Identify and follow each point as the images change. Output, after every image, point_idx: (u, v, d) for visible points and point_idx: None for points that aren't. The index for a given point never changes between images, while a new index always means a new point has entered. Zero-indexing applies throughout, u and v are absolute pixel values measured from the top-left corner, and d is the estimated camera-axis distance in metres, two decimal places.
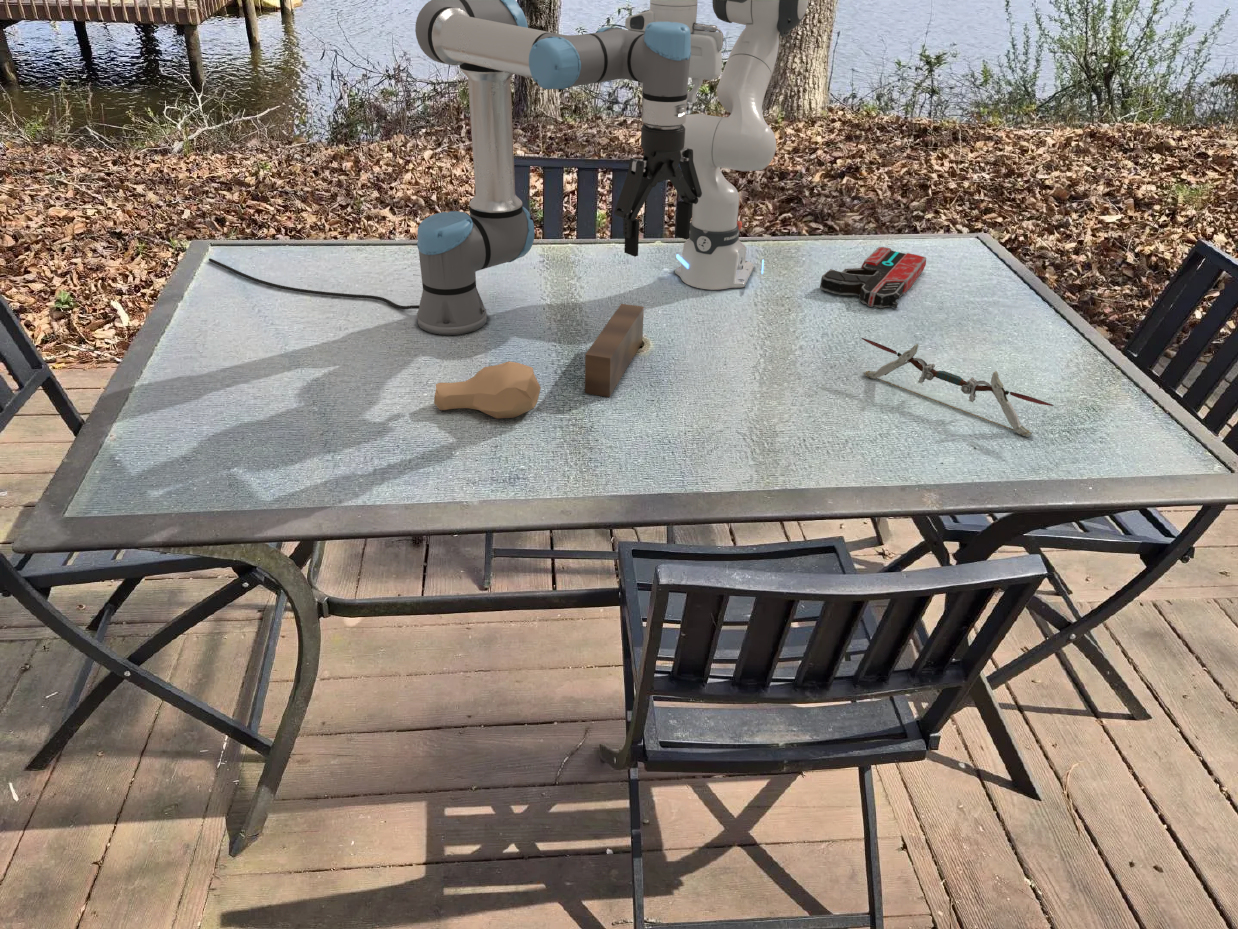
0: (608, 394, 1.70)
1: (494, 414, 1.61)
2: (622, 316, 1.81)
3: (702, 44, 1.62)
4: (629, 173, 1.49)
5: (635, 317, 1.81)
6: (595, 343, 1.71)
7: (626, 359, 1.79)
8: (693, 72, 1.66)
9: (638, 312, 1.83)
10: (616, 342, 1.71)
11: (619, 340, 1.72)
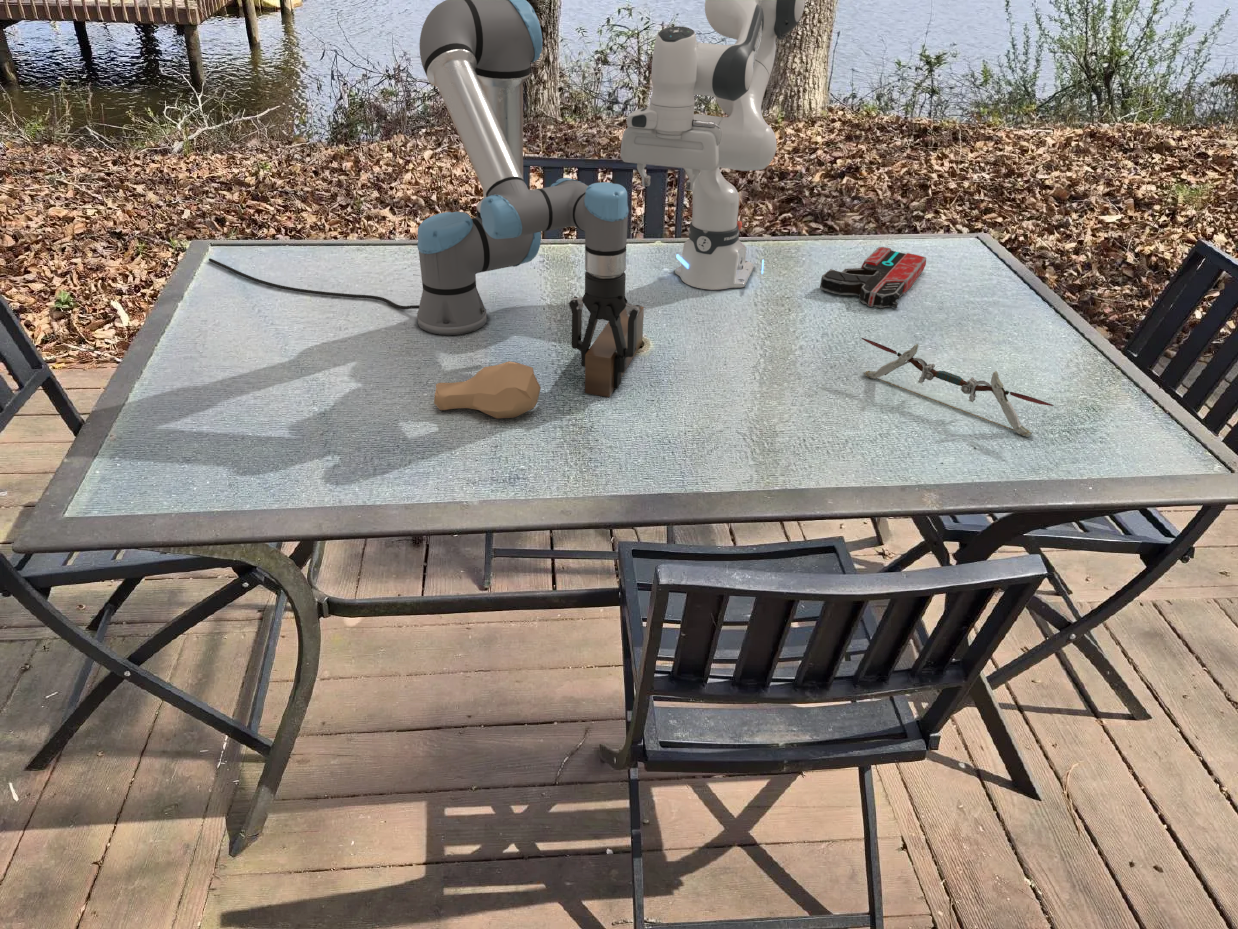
0: (608, 394, 1.70)
1: (494, 414, 1.61)
2: (622, 316, 1.81)
3: (703, 140, 1.75)
4: (634, 321, 1.64)
5: None
6: (595, 343, 1.71)
7: None
8: (694, 164, 1.77)
9: None
10: None
11: None
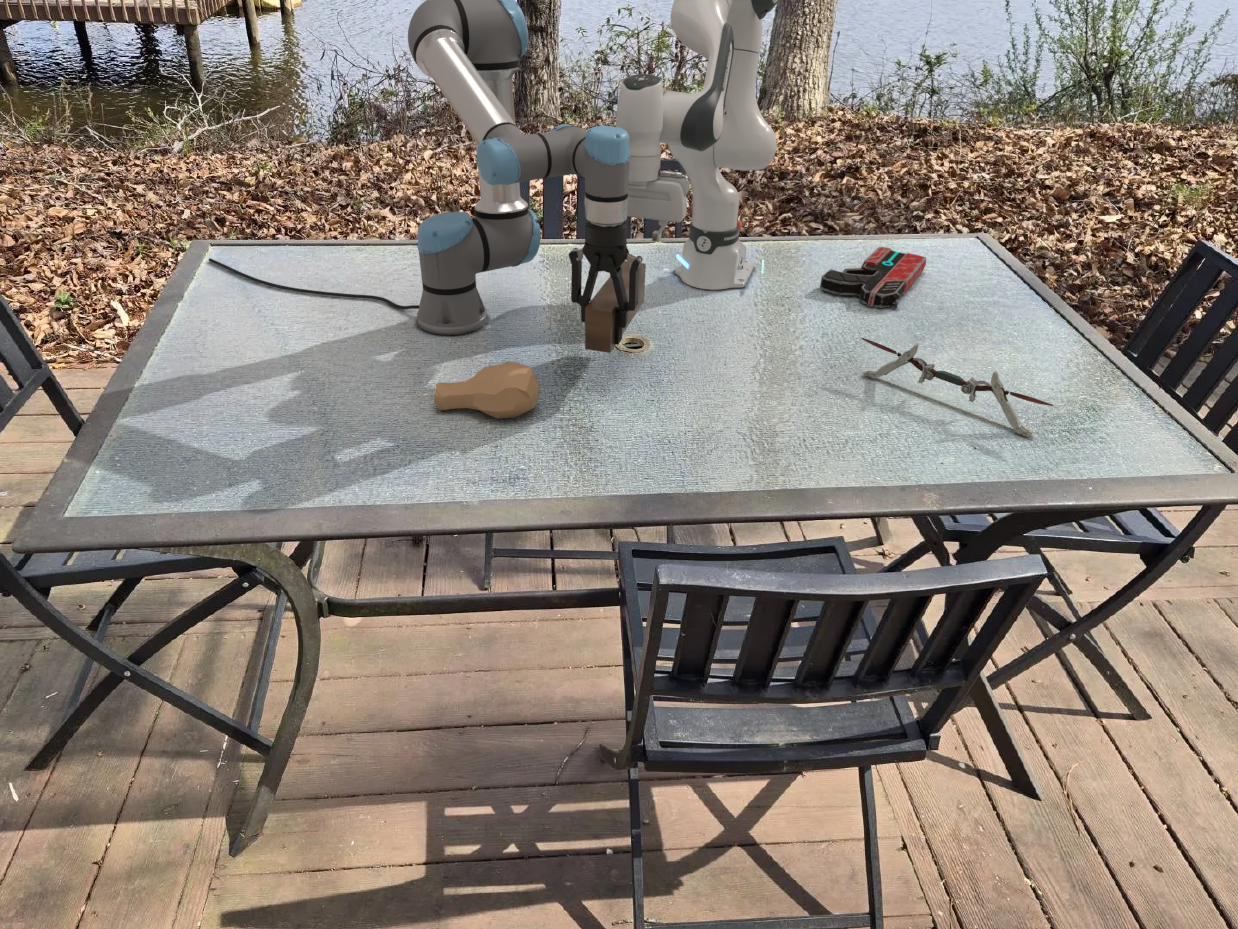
0: (609, 350, 1.65)
1: (494, 414, 1.61)
2: (623, 272, 1.76)
3: (670, 191, 1.67)
4: (636, 273, 1.58)
5: None
6: (595, 297, 1.65)
7: None
8: (661, 215, 1.70)
9: (640, 268, 1.78)
10: None
11: None
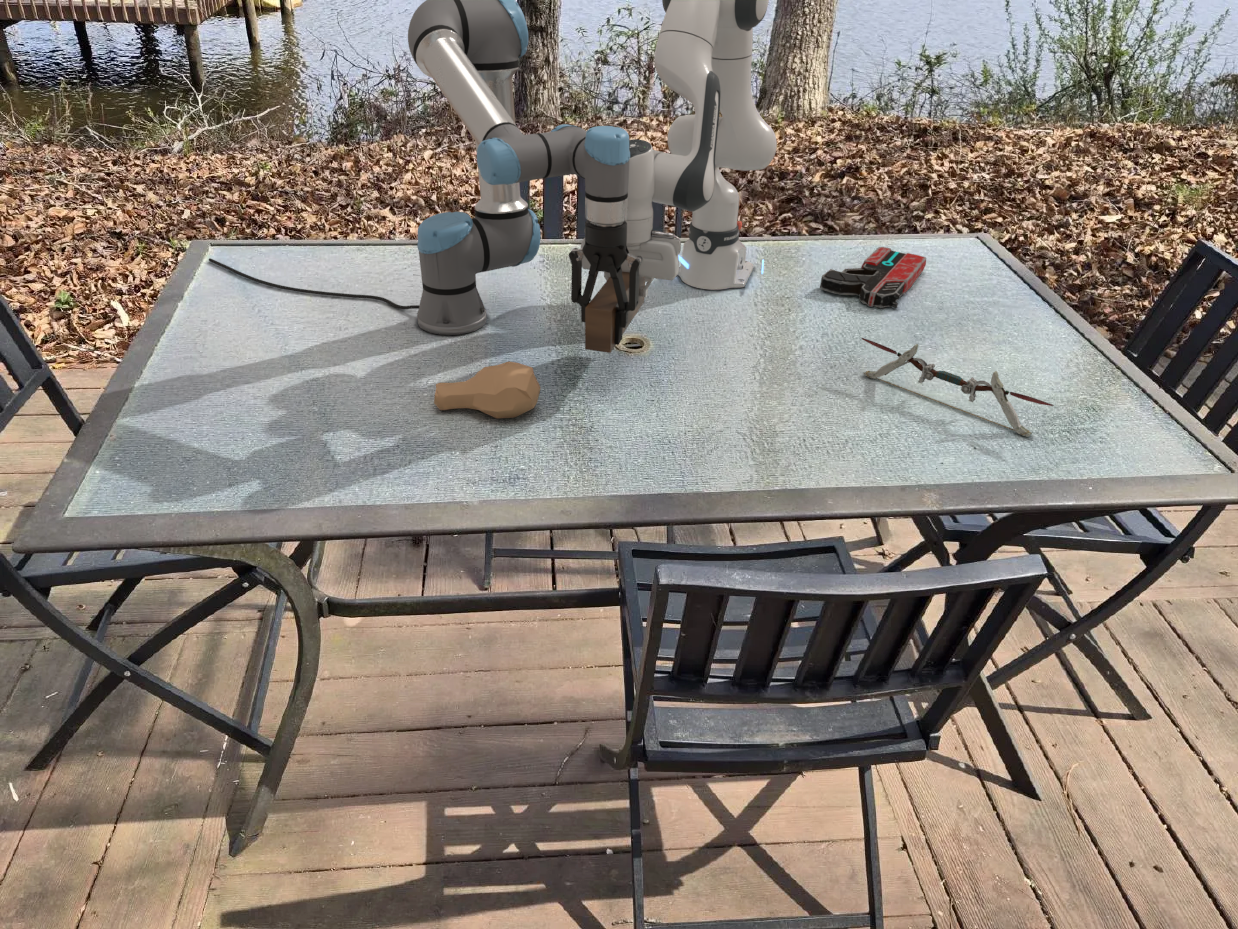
0: (609, 350, 1.65)
1: (494, 414, 1.61)
2: (623, 272, 1.76)
3: (662, 251, 1.72)
4: (636, 273, 1.58)
5: None
6: (596, 297, 1.65)
7: None
8: (654, 274, 1.75)
9: None
10: None
11: None
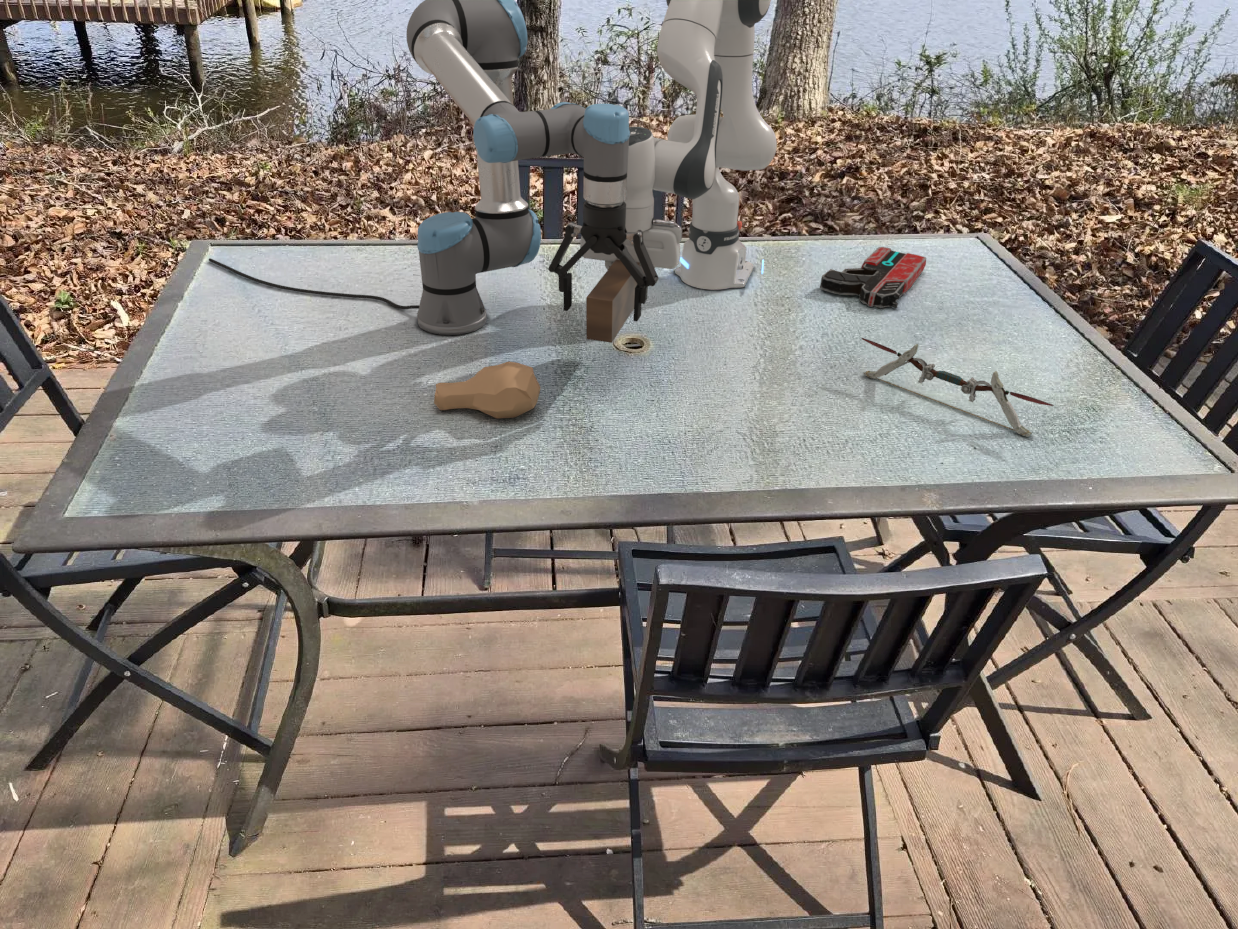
0: (610, 339, 1.64)
1: (494, 414, 1.61)
2: None
3: (663, 239, 1.71)
4: (641, 246, 1.54)
5: (638, 262, 1.75)
6: (596, 287, 1.64)
7: (629, 305, 1.72)
8: (655, 262, 1.74)
9: None
10: (619, 285, 1.65)
11: (621, 284, 1.65)
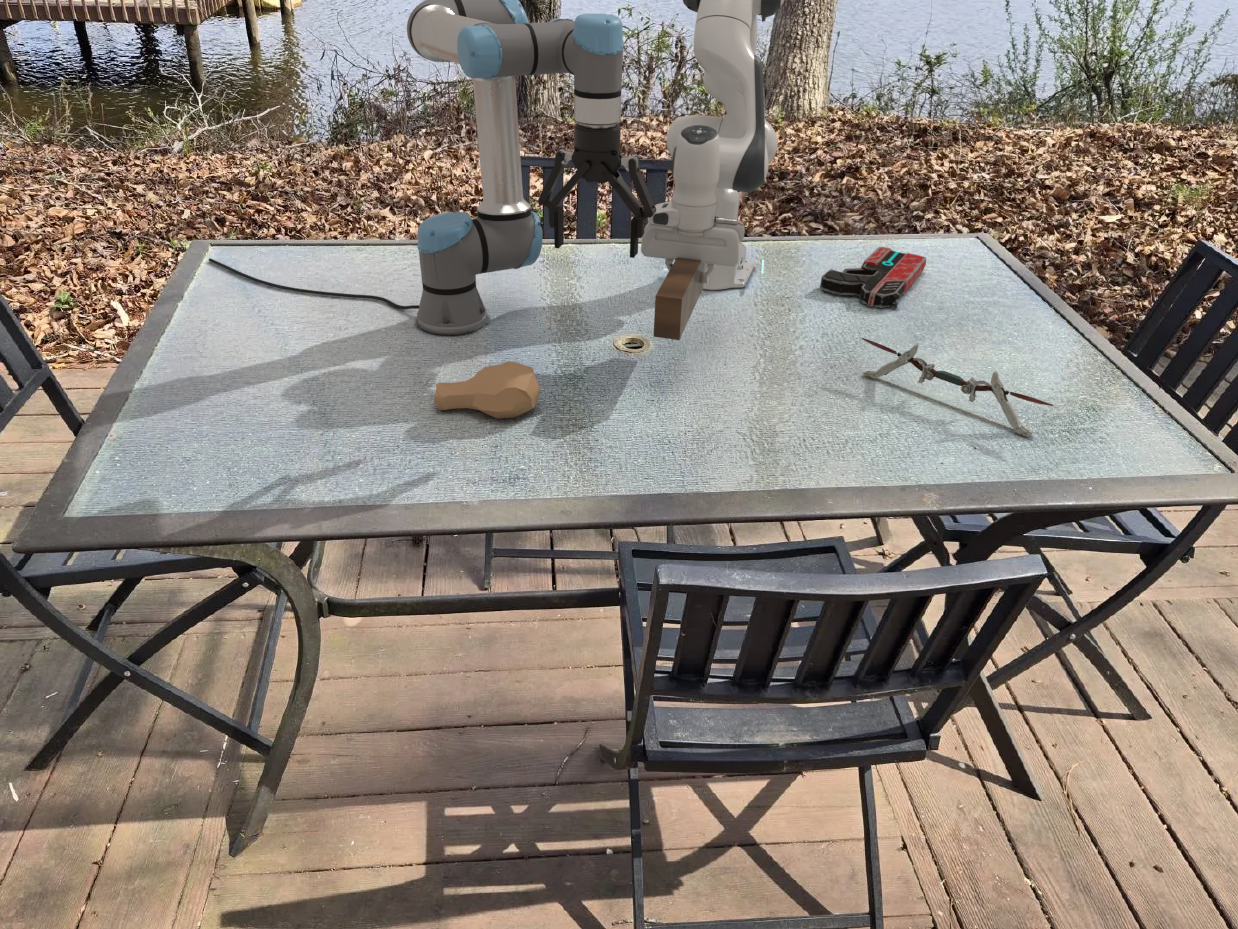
0: (678, 337, 1.65)
1: (494, 414, 1.61)
2: (685, 259, 1.76)
3: (726, 237, 1.72)
4: (637, 173, 1.43)
5: (699, 260, 1.76)
6: (663, 285, 1.65)
7: (692, 303, 1.73)
8: (716, 260, 1.75)
9: None
10: (685, 283, 1.66)
11: (687, 282, 1.66)
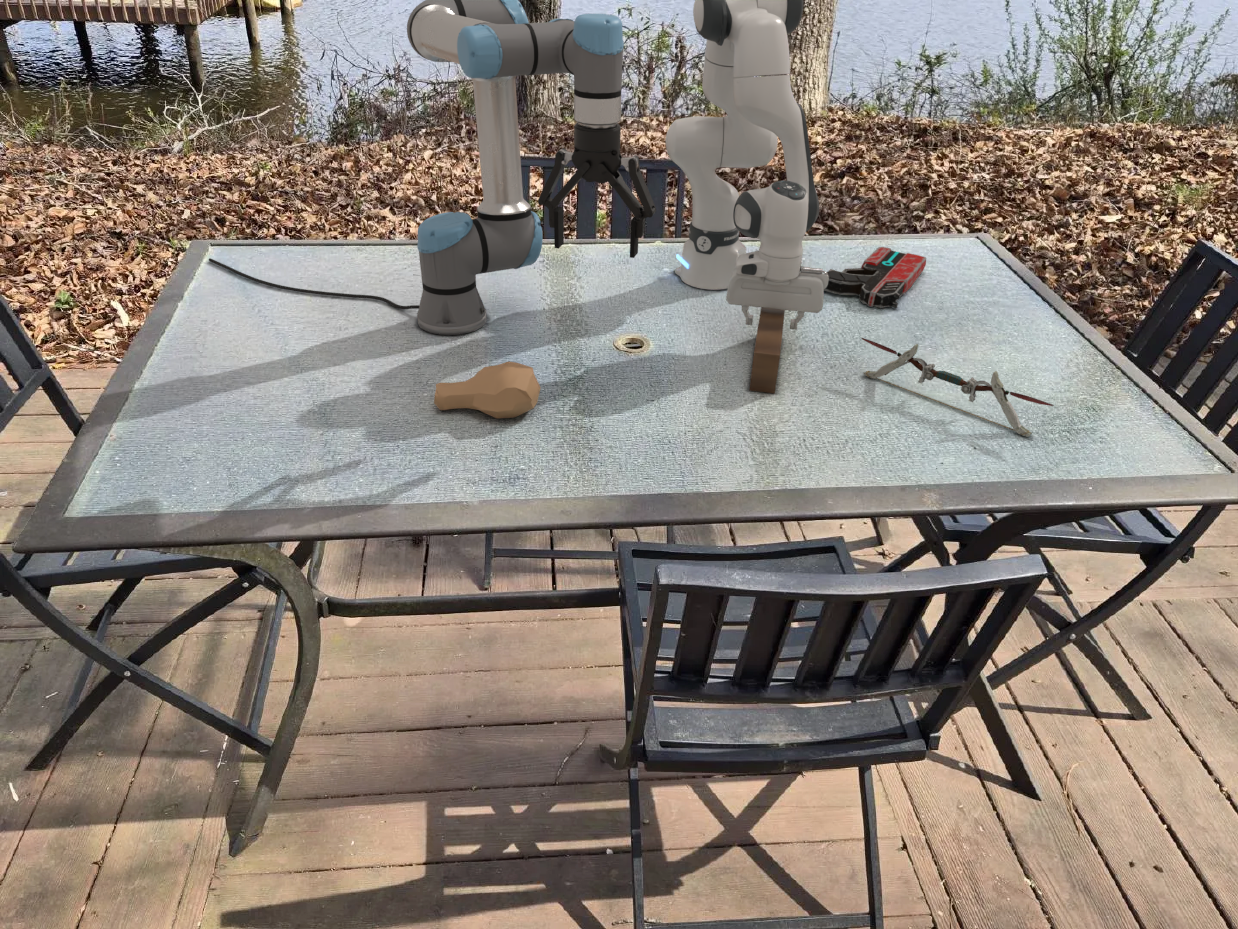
0: (773, 390, 1.73)
1: (494, 414, 1.61)
2: (769, 313, 1.84)
3: (811, 286, 1.79)
4: (637, 173, 1.43)
5: (783, 314, 1.84)
6: (758, 341, 1.73)
7: None
8: (801, 307, 1.82)
9: None
10: (778, 339, 1.74)
11: (779, 337, 1.75)
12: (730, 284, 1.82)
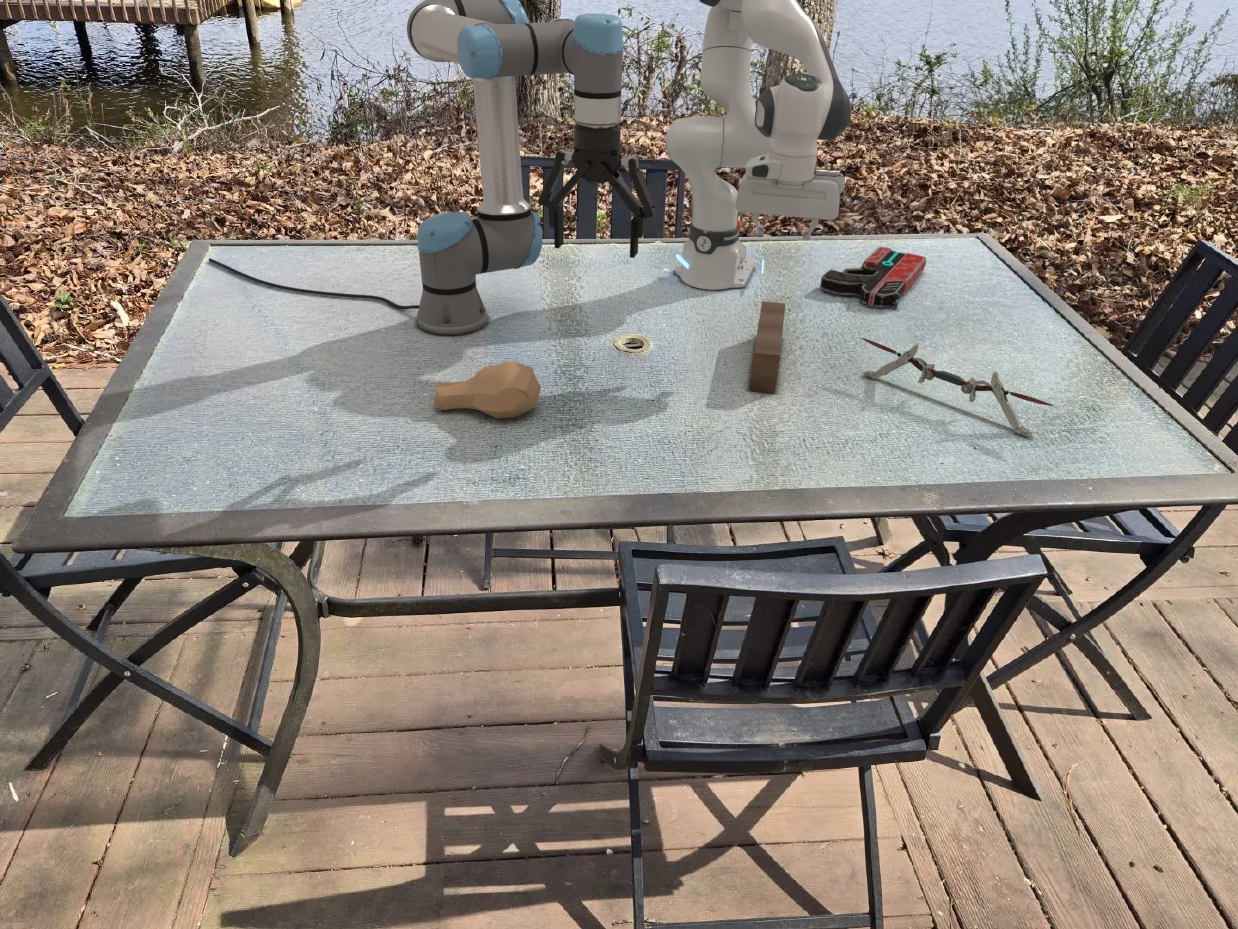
0: (773, 390, 1.73)
1: (494, 414, 1.61)
2: (769, 313, 1.84)
3: (826, 189, 1.68)
4: (637, 173, 1.43)
5: (783, 314, 1.84)
6: (758, 341, 1.73)
7: None
8: (815, 214, 1.71)
9: (783, 309, 1.86)
10: (778, 339, 1.74)
11: (779, 337, 1.75)
12: (740, 189, 1.71)
